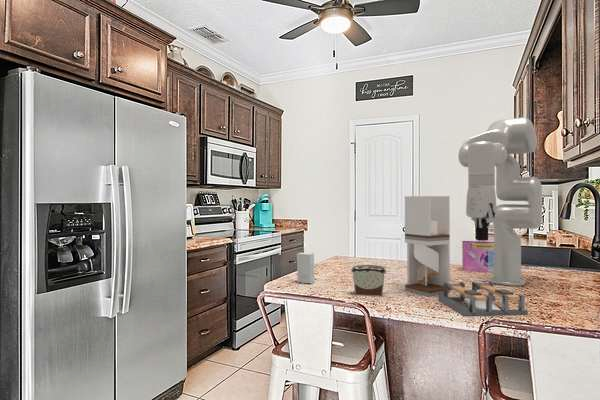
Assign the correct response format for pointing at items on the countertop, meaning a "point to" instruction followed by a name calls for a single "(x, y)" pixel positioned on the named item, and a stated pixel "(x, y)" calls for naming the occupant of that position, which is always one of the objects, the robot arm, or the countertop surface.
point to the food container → (368, 279)
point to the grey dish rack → (465, 310)
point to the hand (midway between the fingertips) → (482, 240)
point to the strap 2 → (497, 291)
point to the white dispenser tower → (427, 244)
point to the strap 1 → (467, 292)
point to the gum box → (478, 256)
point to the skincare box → (305, 267)
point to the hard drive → (480, 305)
